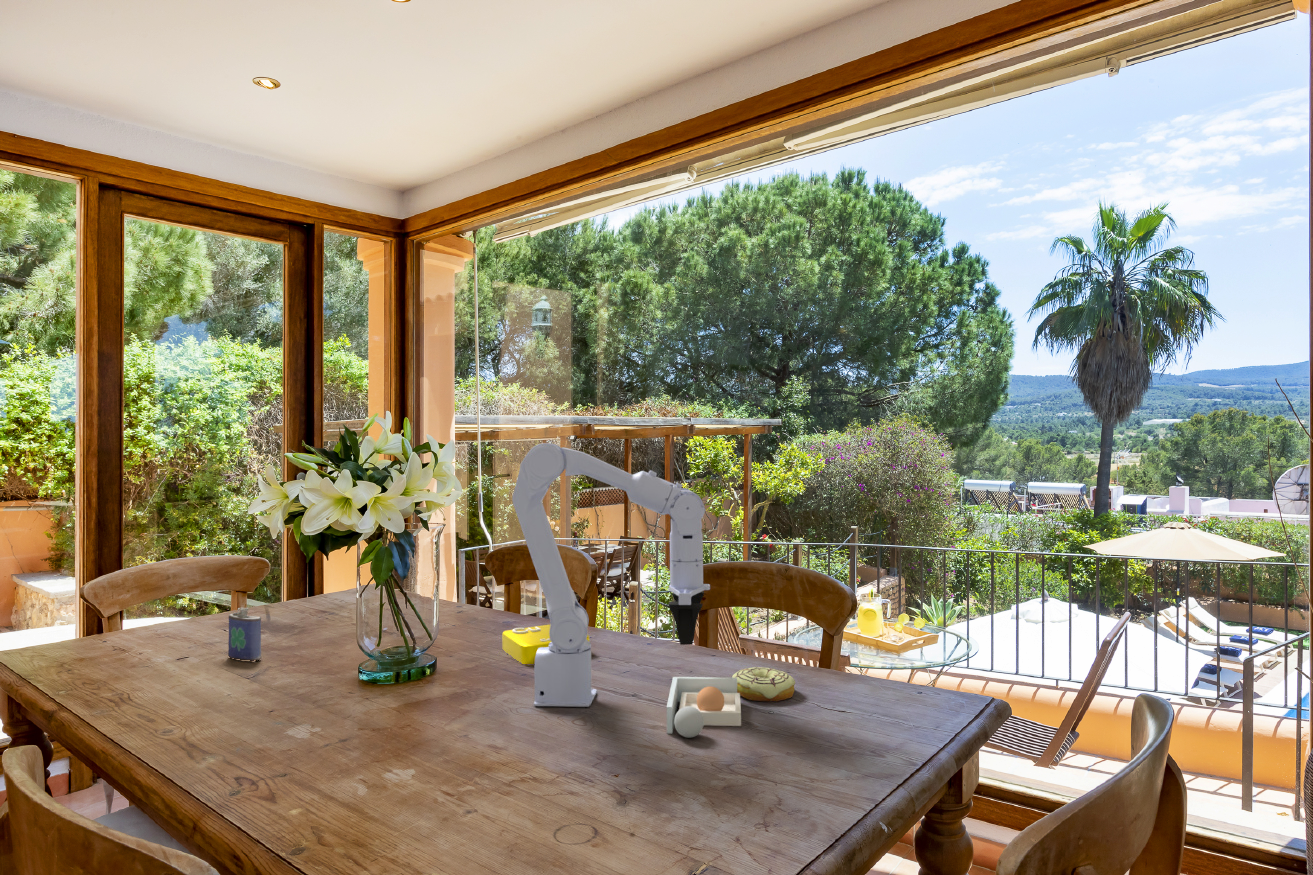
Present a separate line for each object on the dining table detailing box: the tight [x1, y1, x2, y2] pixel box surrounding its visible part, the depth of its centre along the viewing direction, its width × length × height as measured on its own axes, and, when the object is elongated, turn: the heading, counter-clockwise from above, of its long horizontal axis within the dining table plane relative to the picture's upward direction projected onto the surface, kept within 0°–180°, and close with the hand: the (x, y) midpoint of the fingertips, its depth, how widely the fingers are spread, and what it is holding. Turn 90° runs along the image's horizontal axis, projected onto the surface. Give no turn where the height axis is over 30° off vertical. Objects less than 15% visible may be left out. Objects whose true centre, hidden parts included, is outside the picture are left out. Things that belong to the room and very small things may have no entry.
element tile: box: [501, 623, 590, 665], centre depth 164 cm, size 15×15×5 cm
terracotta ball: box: [697, 686, 724, 711], centre depth 123 cm, size 4×4×4 cm
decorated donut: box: [731, 666, 796, 702], centre depth 135 cm, size 10×11×4 cm
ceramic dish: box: [678, 692, 742, 727], centre depth 125 cm, size 10×10×2 cm
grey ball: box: [674, 706, 705, 739], centre depth 116 cm, size 4×4×4 cm
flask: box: [227, 607, 262, 661], centre depth 161 cm, size 9×3×11 cm, turn 61°
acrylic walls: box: [666, 676, 737, 735], centre depth 124 cm, size 11×15×4 cm
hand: (687, 638), depth 134 cm, fingers open, 7 cm apart
